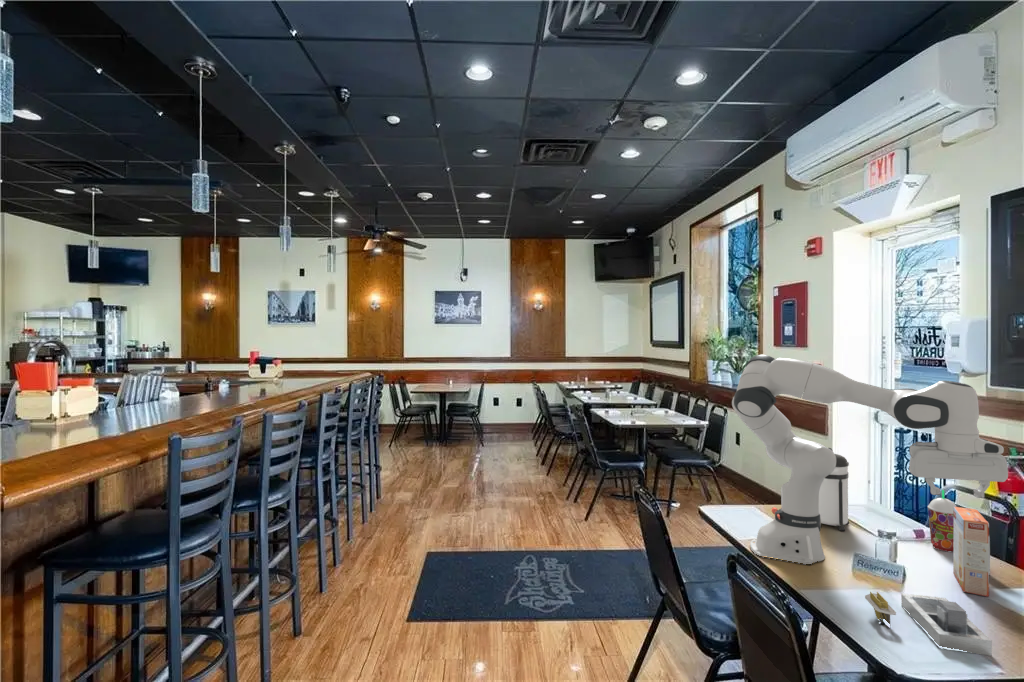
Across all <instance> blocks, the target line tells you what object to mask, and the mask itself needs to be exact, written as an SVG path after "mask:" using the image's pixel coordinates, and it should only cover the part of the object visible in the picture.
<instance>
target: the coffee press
mask: <svg viewBox="0 0 1024 682" xmlns="http://www.w3.org/2000/svg"><path fill="white" fill-rule="evenodd" d="M828 448H829V449H831V450H832V451H833V449H832V448H831V447H828ZM834 454H835V456H836V467H835V469H834V471H833V472H832V473H831V474H829V475H828V476H826V477H825V478H824V480H823V482H822V484H821V487H820V490H819V514H820V518H821V524H824V525H827V526H834V527H836V528H837V529H838V530H839V532H845V531H846V529H845V525H847V526H848V525H849V524H850V521H849V477H850V476H849V475H850V474H849V472H848V471H849V470H848V469H849V466H850V462H849V461H848V460H847V458H846V457H845V456H843V455H841V454H838V453H834Z"/></svg>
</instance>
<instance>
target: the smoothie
mask: <svg viewBox="0 0 1024 682" xmlns="http://www.w3.org/2000/svg"><path fill="white" fill-rule="evenodd" d="M954 507H957V505H956V504H955V503H954V502H953V501H951V499H948V498H946V497H945V489H941V497H936V498H934V499H932V500H931V501H930V503H929V504H928V505H927V513H928V523H929V535H930V543H931V544H932V547H933V548H934V549H936V550H938V549H939V551H942V552H948V551H951V552H954V515H953V514H954V512H953V510H954Z"/></svg>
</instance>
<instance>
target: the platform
mask: <svg viewBox="0 0 1024 682" xmlns="http://www.w3.org/2000/svg"><path fill="white" fill-rule="evenodd" d="M864 599H865V600H866V601H867V602H868V604H870V605H871V607H872V608H873V611H874V614H875V616H876V619H879V620H880V618H881V619H885V620H886V621H887V622H888V623H889V624H890V625H891V616H896V615H897V612H896V611H895V610H894V609H893V608H892V606H891V605H889V602H888V601H887V599H885V598H884V597H883V596H882V595H881V594H880V593H879V591H876V592H875V593H873V592H872V591H869V593H868V594H865V595H864Z"/></svg>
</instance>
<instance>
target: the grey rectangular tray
mask: <svg viewBox="0 0 1024 682" xmlns="http://www.w3.org/2000/svg"><path fill="white" fill-rule="evenodd" d="M900 600H901V607H902V606H903V607H904V608H905V609H906V610H907V611H908V612H909V613H910V615H911V616H912V617H913V618H914V619H915V620H916V621H917V622H918V623H919V624H920V625H921V626H922V627H923V628H924V629H925V630H926V631H927V632H928V634H929V635H930V636H931V637H932V638H933V639H934V641H935V642H936V643H937V644H938V645H939V646H942V647H947V648H951V649H953V648H954V649H959V650H963V651H967V652H972V653H971V654H974V653H976V654H975V655H982V656H990V657H992V656H993V653H992V652H993V648H992V647H993V640H992V639H991V638H990V637H988V636H987V635H986V634H985V632H983V631H982V630H981V629H980V628H979V627H978V626H976V625H975V624H974V623H973V622H972V621H971V620H970V619H969V618H968V617H967V634H960V633H952V632H944V631H943V630H942V629H941V628H940V627H939V626H938V625H937V606H938V600H940V601H949V600H948V599H947V598H946V597H938V596H937V597H936V596H930V595H929V596H928V595H919V594H909V593H901V599H900ZM903 607H902V608H903ZM904 608H903V609H904ZM910 615H909V616H910ZM911 616H910V617H911ZM912 617H911V618H912Z"/></svg>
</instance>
